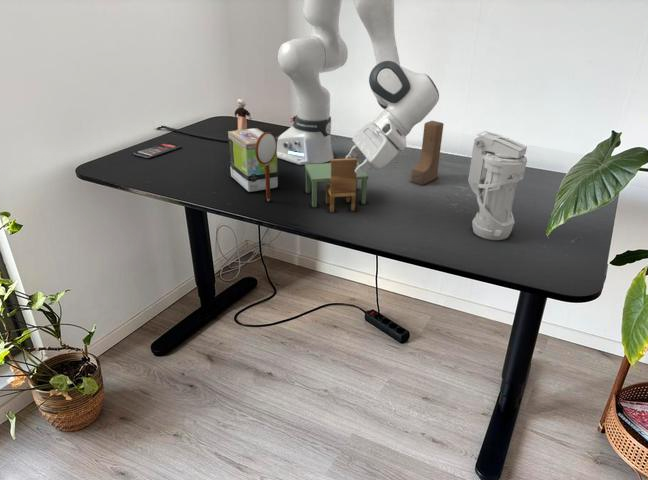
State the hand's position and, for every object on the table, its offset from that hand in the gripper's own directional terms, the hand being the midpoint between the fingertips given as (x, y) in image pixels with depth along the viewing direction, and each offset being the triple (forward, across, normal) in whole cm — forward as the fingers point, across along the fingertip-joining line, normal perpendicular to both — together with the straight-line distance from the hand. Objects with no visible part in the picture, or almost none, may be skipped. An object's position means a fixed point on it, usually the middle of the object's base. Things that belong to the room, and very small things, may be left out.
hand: (351, 166), depth 145 cm
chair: (+11, -3, +8) cm, 13 cm away
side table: (+11, -10, +8) cm, 16 cm away
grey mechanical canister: (-14, +18, +33) cm, 40 cm away
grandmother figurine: (+26, -78, -8) cm, 83 cm away
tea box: (+26, -25, -8) cm, 37 cm away
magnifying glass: (+25, -10, -6) cm, 27 cm away
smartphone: (+48, -59, -30) cm, 82 cm away
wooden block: (-12, -19, +30) cm, 37 cm away
